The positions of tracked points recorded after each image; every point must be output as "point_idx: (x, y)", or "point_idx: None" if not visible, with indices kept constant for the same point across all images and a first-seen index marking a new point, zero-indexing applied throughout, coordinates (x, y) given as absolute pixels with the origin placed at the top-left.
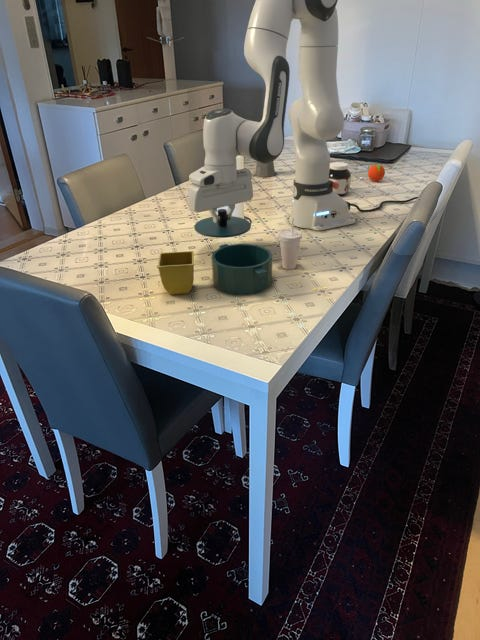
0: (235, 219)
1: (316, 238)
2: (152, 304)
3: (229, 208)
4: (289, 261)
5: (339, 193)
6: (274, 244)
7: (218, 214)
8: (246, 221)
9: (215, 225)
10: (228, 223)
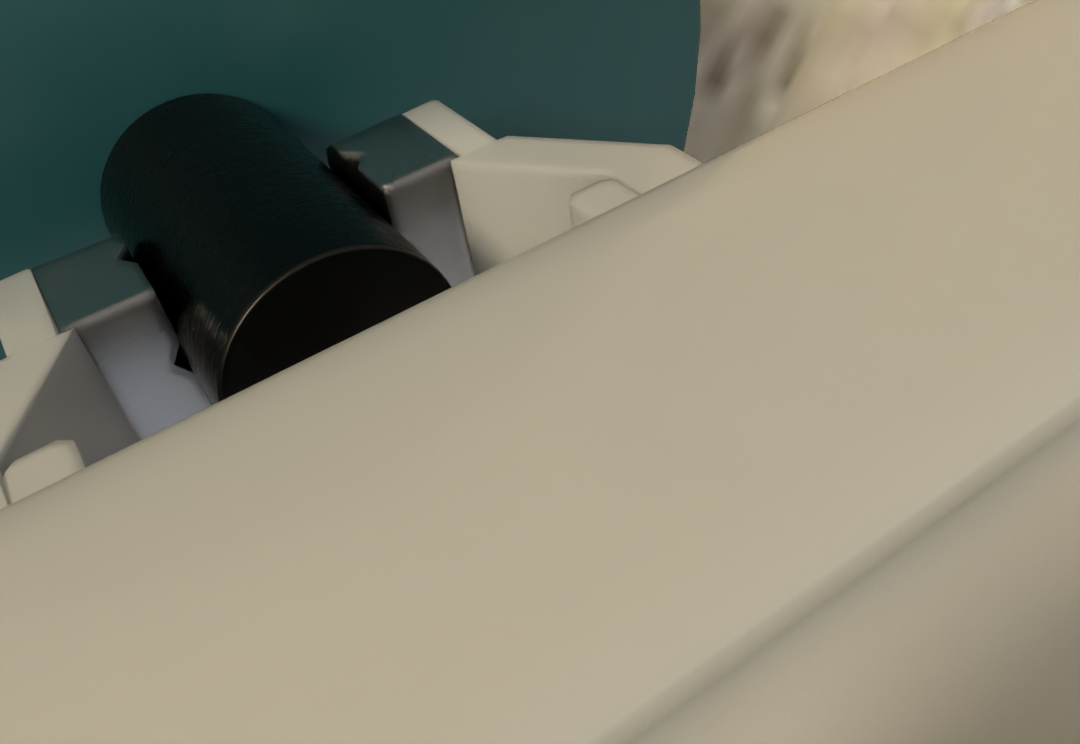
0: None
1: (1024, 4)
2: None
3: (571, 225)
4: None
5: None
6: (718, 9)
7: (196, 374)
8: (666, 98)
9: (26, 165)
10: (354, 110)
